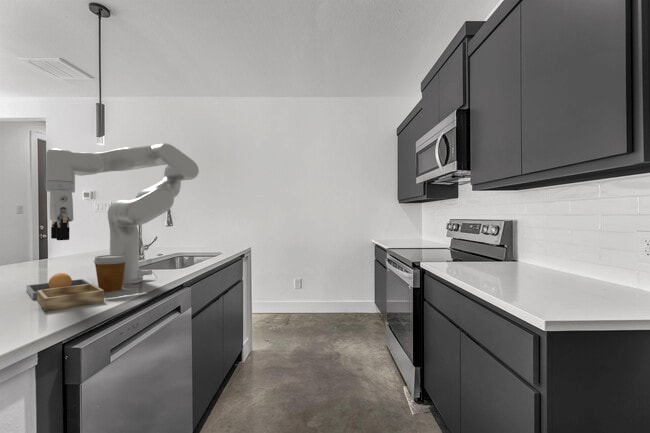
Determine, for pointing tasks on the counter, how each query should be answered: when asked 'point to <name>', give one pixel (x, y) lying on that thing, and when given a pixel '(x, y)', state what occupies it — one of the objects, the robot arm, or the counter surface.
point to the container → (33, 288)
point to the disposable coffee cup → (110, 271)
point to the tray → (69, 296)
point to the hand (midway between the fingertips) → (60, 239)
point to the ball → (60, 280)
